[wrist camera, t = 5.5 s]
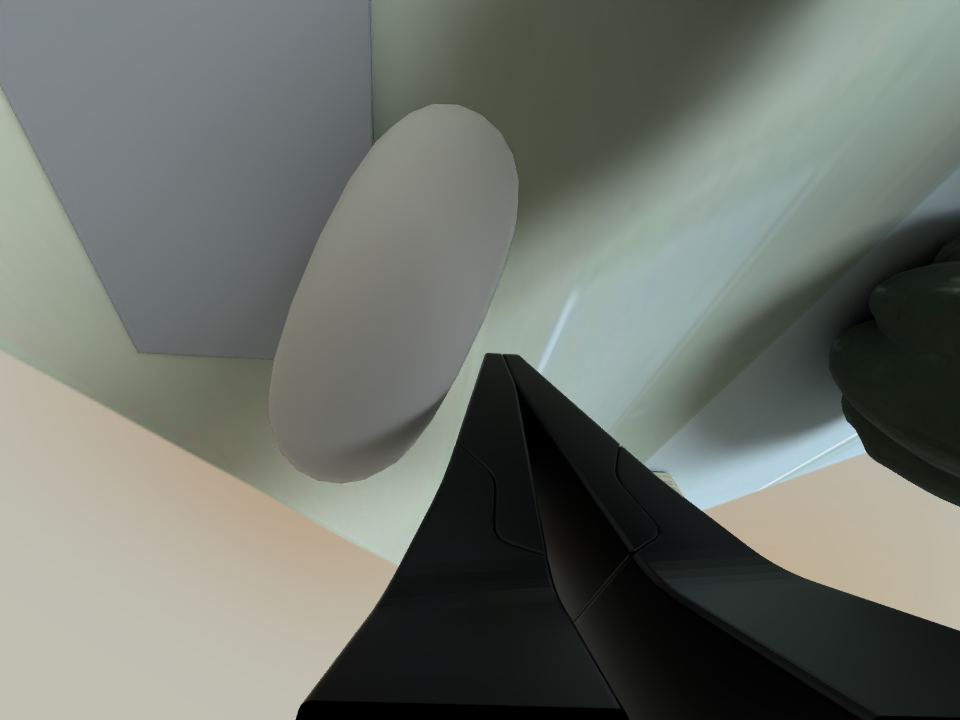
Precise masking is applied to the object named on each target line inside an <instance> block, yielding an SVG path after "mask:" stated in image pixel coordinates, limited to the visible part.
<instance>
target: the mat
mask: <svg viewBox="0 0 960 720" xmlns="http://www.w3.org/2000/svg"><path fill="white" fill-rule="evenodd" d="M0 85H1V87H2V89H3V91H4V93H5V95H6V97H7V99H8V101H9V103H10V105H11V107H12V109H13V111H14V113H15V115H16V117H17V118H18V120H19V122H20V124H21V126H22V128H23V130H24V132H25V134H26V136H27V138H28V140H29V142H30V144H31V146H32V148H33V150H34V152H35V153H36V155H37V157H38V159H39V161H40V163H41V165H42V167H43V169H44V171H45V173H46V175H47V177H48V179H49V181H50V183H51V185H52V186H53V188H54V190H55V192H56V194H57V196H58V198H59V200H60V202H61V204H62V206H63V208H64V210H65V212H66V214H67V216H68V218H69V220H70V221H71V223H72V225H73V227H74V229H75V231H76V233H77V235H78V237H79V239H80V241H81V243H82V245H83V247H84V249H85V251H86V253H87V254H88V256H89V258H90V260H91V262H92V264H93V266H94V268H95V270H96V272H97V274H98V276H99V278H100V280H101V282H102V284H103V286H104V288H105V289H106V291H107V293H108V295H109V297H110V299H111V301H112V303H113V305H114V307H115V309H116V311H117V313H118V315H119V317H120V319H121V321H122V322H123V324H124V326H125V328H126V330H127V332H128V334H129V336H130V338H131V340H132V342H133V344H134V346H135V348H136V350H137V352H143V353H162V354H180V355H198V356H216V357H234V358H252V359H271V360H274V358H275V355H276V352H277V348H278V345H279V342H280V339H281V336H282V332H283V329H284V326H285V323H286V319H287V316H288V313H289V310H290V307H291V303H292V301H293V299H294V296H295V294H296V291H297V289H298V287H299V284H300V282H301V279H302V277H303V275H304V272H305V270H306V267H307V265H308V263H309V260H310V258H311V255H312V253H313V251H314V248H315V246H316V243H317V241H318V239H319V237H320V235H321V233H322V231H323V229H324V227H325V225H326V223H327V221H328V219H329V218H330V216H331V214H332V212H333V210H334V208H335V206H336V204H337V202H338V200H339V198H340V197H341V195H342V193H343V191H344V189H345V187H346V185H347V183H348V181H349V179H350V178H351V177H352V175H353V174H354V172H355V171H356V169H357V168H358V167H359V165H360V164H361V162H362V161H363V159H364V158H365V156H366V155H367V154H368V152H369V151H370V149H371V148H372V146H373V114H372V59H371V3H370V0H0Z"/></svg>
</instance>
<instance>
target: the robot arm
mask: <svg viewBox="0 0 960 720" xmlns="http://www.w3.org/2000/svg"><path fill="white" fill-rule="evenodd" d="M619 446H620V445H619V443H618V442H617V441H616V440H615V439H613V438H612V437H611V436H610V435H609V434H608V433H607V432H605V431H604V430H603V429H602V428H601V427H600V426H599V425H598V424H596V423H595V422H594V421H593V420H592V419H591V418H590V417H588V416H587V415H586V414H585V413H584V412H583V411H582V410H581V409H579V408H578V407H577V406H576V405H575V404H574V403H573V402H571V401H570V400H569V399H568V398H567V397H566V396H565V395H564V394H562V393H561V392H560V391H559V390H558V389H557V388H556V387H554V386H553V385H552V384H551V383H550V382H549V381H548V380H547V379H545V378H544V377H543V376H542V375H541V374H540V373H539V372H537V371H536V370H535V369H534V368H533V367H532V366H531V365H530V364H528V363H527V362H526V361H525V360H524V359H523V358H522V357H521V356H519V355H517V354H503V355H502V354H498V353H486V354H485V356H484V359H483V362H482V365H481V368H480V371H479V374H478V377H477V380H476V383H475V386H474V389H473V393H472V396H471V399H470V402H469V405H468V408H467V411H466V414H465V417H464V420H463V423H462V426H461V429H460V432H459V435H458V438H457V441H456V445H455V447H454V450H453V453H452V456H451V459H450V462H449V464H448V467H447V470H446V472H445V475H444V478H443V480H442V483H441V485H440V487H439V489H438V491H437V493H436V495H435V497H434V499H433V501H432V504H431V506H430V507H429V509H428V511H427V513H426V515H425V517H424V519H423V521H422V523H421V525H420V527H419V529H418V530H417V532H416V534H415V536H414V538H413V540H412V542H411V544H410V546H409V548H408V550H407V552H406V554H405V555H404V557H403V559H402V561H401V563H400V565H399V567H398V569H397V571H396V573H395V574H394V576H393V578H392V580H391V581H390V583H389V585H388V587H387V588H386V590H385V592H384V594H383V595H382V597H381V598H380V600H379V601H378V603H377V604H376V606H375V608H374V609H373V611H372V612H371V613H370V615H369V616H368V617H367V619H366V620H365V621H364V623H363V624H362V625H361V627H360V628H359V629H358V631H357V632H356V633H355V635H354V636H353V637H352V638H351V640H350V641H349V642H348V644H347V645H346V646H345V648H344V649H343V650H342V652H341V653H340V655H339V656H338V657H337V658H336V660H335V661H334V662H333V664H332V665H331V666H330V668H329V669H328V670H327V672H326V673H325V674H324V676H323V677H322V678H321V679H320V681H319V682H318V683H317V685H316V686H315V687H314V689H313V690H312V691H311V693H310V694H309V695H308V697H307V698H306V699H305V701H304V702H303V703H302V704H301V706H300V708H299V710H298V714H297V717H296V720H960V631H959V630H956V629H953V628H950V627H947V626H944V625H941V624H938V623H935V622H932V621H929V620H926V619H923V618H920V617H917V616H914V615H911V614H908V613H905V612H902V611H899V610H896V609H894V608H890V607H887V606H885V605H882V604H878V603H876V602H873V601H870V600H866V599H864V598H861V597H858V596H855V595H852V594H849V593H846V592H843V591H840V590H837V589H834V588H831V587H828V586H825V585H822V584H819V583H816V582H814V581H811V580H808V579H805V578H803V577H801V576H798V575H796V574H794V573H791V572H789V571H787V570H785V569H783V568H781V567H779V566H778V565H776V564H774V563H772V562H771V561H769V560H767V559H766V558H764V557H763V556H761V555H760V554H758V553H756V552H755V551H754V550H753V549H751V548H750V547H748V546H747V545H746V544H745V543H743V542H742V541H740V540H739V539H738V538H737V537H735V536H734V535H733V534H731V533H730V532H729V531H727V530H726V529H725V528H724V527H722V526H721V525H720V524H718V523H717V522H716V521H714V520H713V519H712V518H710V517H709V516H708V515H706V514H705V513H704V512H703V511H701V510H700V509H699V508H697V507H696V506H695V505H693V504H692V503H691V502H689V501H688V500H687V499H685V498H684V497H683V496H682V495H680V494H679V493H678V492H677V491H675V490H674V489H673V488H671V487H670V486H669V485H668V484H666V483H665V482H664V481H663V480H661V479H660V478H659V477H658V476H656V475H655V474H654V473H653V472H652V471H650V470H649V469H648V468H647V467H646V466H645V465H643V464H642V463H641V462H640V461H639V460H637V459H636V458H635V457H634V456H633V455H632V454H631V453H629V452H628V451H627V450H626V449H625V448H624V447H623V446H620V447H619Z"/></svg>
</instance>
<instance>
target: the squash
mask: <svg viewBox="0 0 960 720" xmlns="http://www.w3.org/2000/svg"><path fill="white" fill-rule="evenodd" d="M869 304H870V311H871V313H872V314H873V316H874V318H875V320H872V321H866V322H863V323H860V324H858V325H856V326H853V327H851V328H849V329H847V330H846V331H844V332H843V333H841V334H840V335H839V336H838V338H837V339H836V341H835V343H834V345H833V346H832V348H831V350H830V353H829V368H830V371H831V374H832V377H833V379H834V381H835V382H836V384H837V386H838V387H839V389H840V390H841V392H842V393H843V395H842V400H841V403H842V410H843V412H844V415H845V418H846V420H847V422H849V423H850V424H851V425H852V426H853V427H854V429H855V430H856V432H857V433H858V435H859V437H860V439H861V441H862V443H863V445H864V448H865V450H866V452H867V453H868V455H869V456H870V457H871V458H873V459H874V460H875V461H876V462H878V463H880V464H882V465H883V466H885V467H887V468H889V469H890V470H892V471H893V472H895V473H897V474H898V475H900V476H902V477H903V478H905V479H906V480H908V481H910V482H912V483H913V484H915V485H917V486H918V487H920V488H922V489H924V490H926V491H927V492H929V493H931V494H933V495H935V496H937V497H939V498H941V499H943V500H946V501H948V502H950V503H952V504H955V505H957V506H959V507H960V233H959V234H958V235H957V236H955V237H954V238H952V239H951V240H950V241H948V242H947V243H946V244H945V245H944V246H943V247H942V249H941V250H940V251H939V253H938V254H937V256H936V257H935V259H934V262H933V264H931V265H927V266H922V267H918V268H915V269H911V270H907V271H904V272H901V273H898V274H895V275H893V276H891V277H890V278H888V279H887V280H885V281H883V282H881V283H879V284H878V285H877V286H876V287H875V288H874V290H873V291H872V293H871V296H870V299H869Z"/></svg>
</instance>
